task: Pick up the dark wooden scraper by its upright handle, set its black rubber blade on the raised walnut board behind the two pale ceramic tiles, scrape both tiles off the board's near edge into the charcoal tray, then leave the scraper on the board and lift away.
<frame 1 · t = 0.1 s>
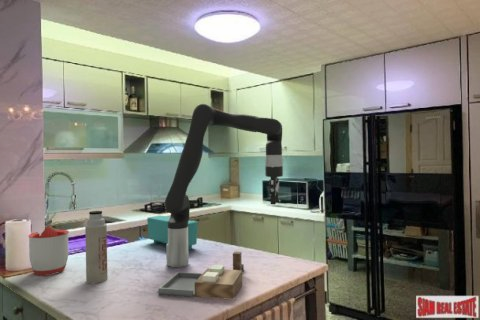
hand: (274, 202, 150), 29 cm above the worktop, tool pointing down, fingers open, 8 cm apart
radio: (172, 246, 194), on the worktop
tile b: (217, 272, 133), point 5 cm above the worktop, touching board
thermos bottle: (97, 280, 141), on the worktop
tile a: (210, 279, 125), point 5 cm above the worktop, touching board
scraper: (237, 275, 145), on the worktop
bin: (184, 287, 132), on the worktop
board: (219, 289, 129), on the worktop
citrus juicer: (49, 271, 153), on the worktop
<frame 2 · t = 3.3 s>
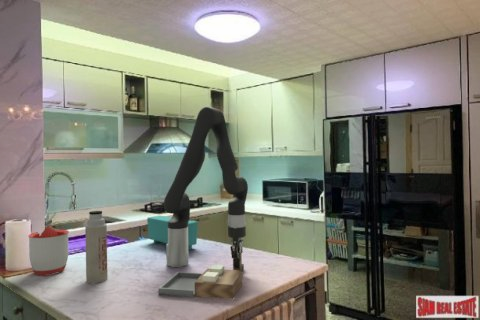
hand: (237, 266, 145), 4 cm above the worktop, tool pointing down, fingers closed on scraper, 3 cm apart
scraper: (237, 274, 145), on the worktop, touching gripper
everything else where it was.
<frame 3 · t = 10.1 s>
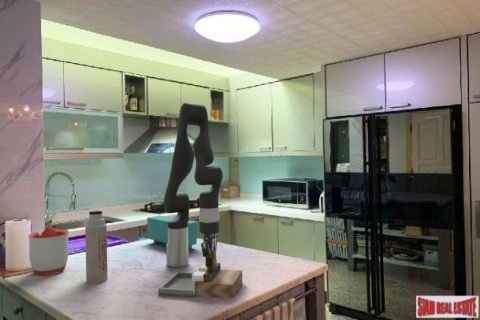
hand: (210, 265, 130), 9 cm above the worktop, tool pointing down, fingers closed on scraper, 3 cm apart
tile b: (206, 271, 134), point 5 cm above the worktop, touching scraper
tile a: (199, 279, 126), point 5 cm above the worktop, touching board
scraper: (212, 275, 130), point 5 cm above the worktop, touching gripper, tile b
everything else where it was.
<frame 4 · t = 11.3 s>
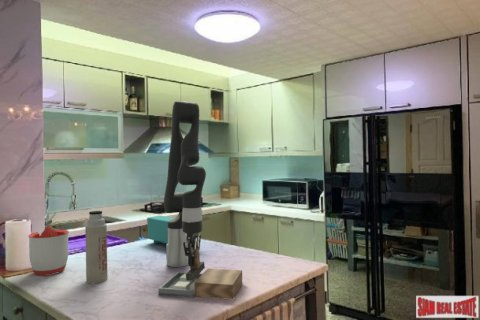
hand: (192, 264, 131), 9 cm above the worktop, tool pointing down, fingers closed on scraper, 3 cm apart
tile b: (187, 275, 136), point 3 cm above the worktop, tilted 180°, touching bin
tile a: (182, 283, 128), point 3 cm above the worktop, tilted 180°, touching bin
scraper: (196, 273, 131), point 5 cm above the worktop, tilted 5°, touching gripper
everything else where it was.
when the fingers open (9 cm above the worktop, at t = 15.1 s): scraper stays where it is, resting on board.
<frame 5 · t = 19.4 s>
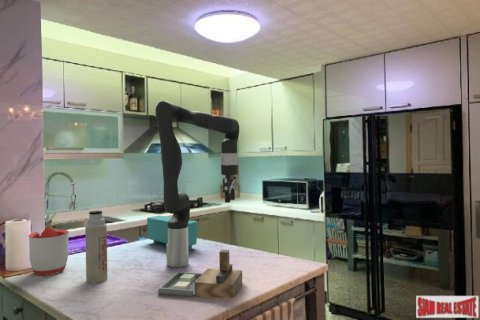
hand: (230, 201, 150), 30 cm above the worktop, tool pointing down, fingers open, 8 cm apart
scraper: (224, 276, 128), point 5 cm above the worktop, touching board
everything else where it was.
at the end: tile a inside the target area (4.3 cm from its centre), point 2.8 cm above the worktop; tile b inside the target area (4.3 cm from its centre), point 2.8 cm above the worktop; scraper inside the target area (2.1 cm from its centre), point 5.0 cm above the worktop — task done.
